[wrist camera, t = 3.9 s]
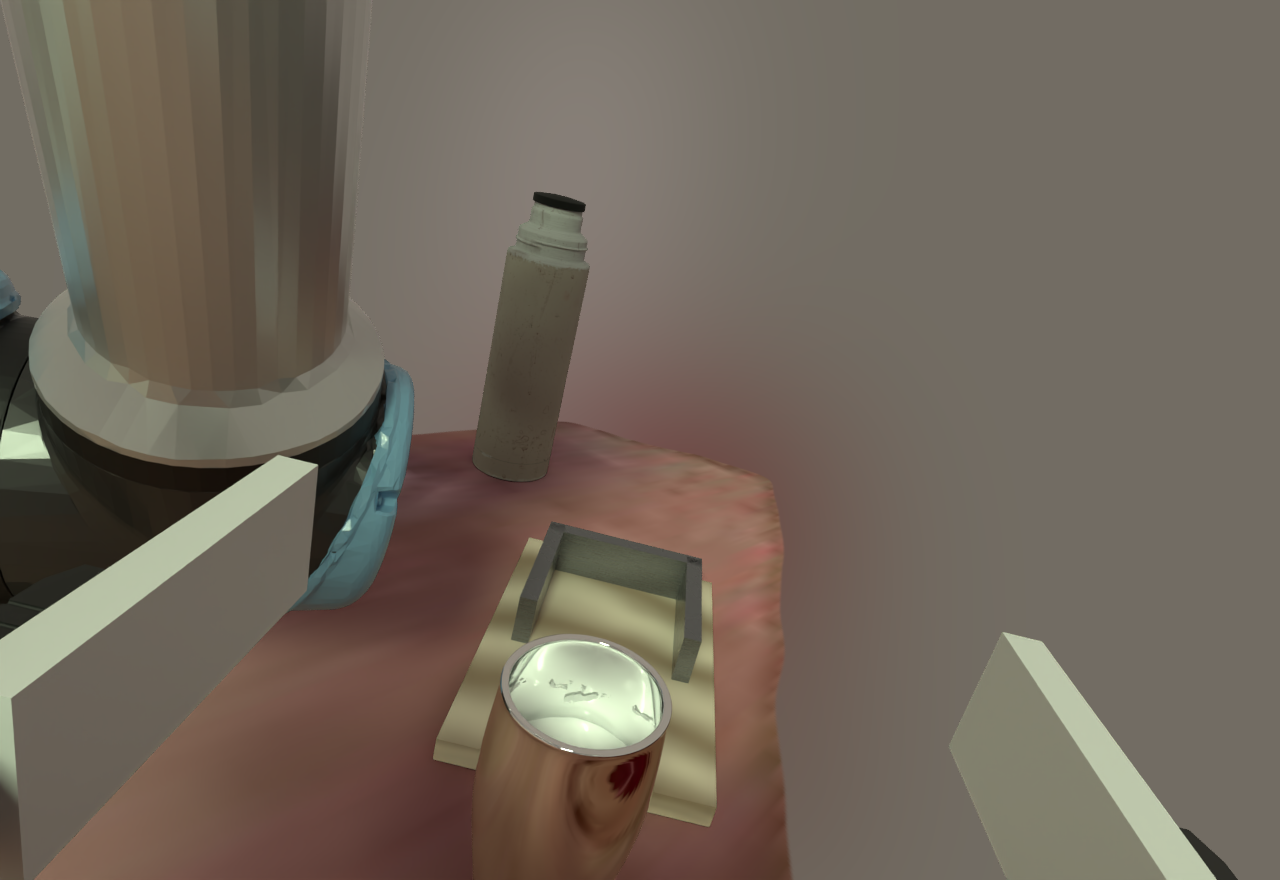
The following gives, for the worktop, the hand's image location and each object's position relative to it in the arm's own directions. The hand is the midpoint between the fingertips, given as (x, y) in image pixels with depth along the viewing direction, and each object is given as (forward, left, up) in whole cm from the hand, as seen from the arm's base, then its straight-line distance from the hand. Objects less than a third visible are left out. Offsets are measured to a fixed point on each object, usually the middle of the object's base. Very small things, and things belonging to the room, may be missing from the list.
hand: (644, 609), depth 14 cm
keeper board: (-16, +28, -26) cm, 41 cm away
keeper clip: (-18, +31, -24) cm, 43 cm away
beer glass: (-6, +9, -26) cm, 28 cm away
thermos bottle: (-42, +46, -26) cm, 67 cm away
